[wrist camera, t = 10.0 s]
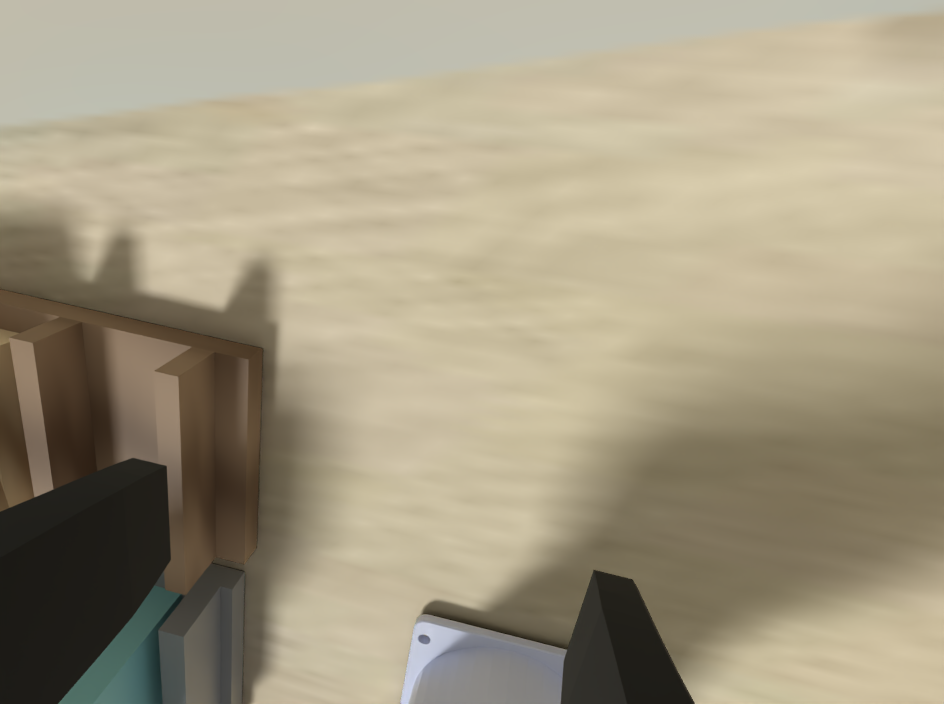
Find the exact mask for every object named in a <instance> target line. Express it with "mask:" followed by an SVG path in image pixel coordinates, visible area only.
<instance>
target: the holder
mask: <svg viewBox="0 0 944 704" xmlns="http://www.w3.org/2000/svg"><path fill="white" fill-rule="evenodd" d="M244 584H245V572H243V571H240V570H236V569H232V568H228V567H224V566H220V565H216V564H212V563H211V564H210V565H209V566H208V568H207V569H206V570H205V571H204V573H203V574H202V575H201V577H200V578H199V579H198V580H197V582H196V583H195V584H194V585H193V587H192V588H191V589H190V590H189V592H188V593H187V594H186V595H183V594H182V601H181V602H180V603H179V605H178V606H177V607H176V608H175V610H174V611H173V612H172V613H171V615H170V616H169V617H168V619H167V620H166V621H165V622H164V624H163V625H162V626H161V627H160V629H159V630H158V635H159V651H160V668H161V684H162V700H163V704H242V683H243V634H244ZM154 586H158V587H162V588H165V577H164V571H163V573H162V574H161V576H160V578H159V579H158V581H157V582H156V584H155V585H154Z"/></svg>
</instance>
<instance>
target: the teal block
mask: <svg viewBox="0 0 944 704" xmlns="http://www.w3.org/2000/svg"><path fill="white" fill-rule="evenodd" d="M181 601H182V594H179V593H175V592H171V591H167V590H165V588H162V587H158V586H154V587H153V588H152V590H151V591H150V593H149V594H148V596H147V597H146V598H145V600H144V601H143V603H142V604H141V606H140V607H139V608H138V610H137V611H136V613H135V614H134V616H133V617H132V618H131V619H130V620H129V622H128V623H127V624H126V625H125V626H124V628H123V629H122V630H121V631H120V632H119V634H118V635H117V636H116V637H115V638H114V639H113V641H112V642H111V643H110V644H109V645H108V647H107V648H106V649H105V650H104V651H103V652H102V654H101V655H100V656H99V657H98V658H97V659H96V661H95V662H94V663H93V664H92V665H91V666H90V668H89V669H88V670H87V671H86V672H85V673H84V675H83V676H82V677H81V678H80V679H79V680H78V681H77V683H76V684H75V685H74V686H73V687H72V688H71V690H70V691H69V692H68V693H67V694H66V695H65V696H64V698H63V699H62V700H61V701H60V702H59V703H58V704H163V700H162V684H161V668H160V651H159V635H158V630H159V629H160V627H161V626H162V625H163V624H164V622H165V621H166V620H167V619H168V617H169V616H170V615H171V613H172V612H173V611H174V610H175V608H176V607H177V606H178V605H179V603H180V602H181Z"/></svg>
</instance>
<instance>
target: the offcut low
mask: <svg viewBox="0 0 944 704" xmlns="http://www.w3.org/2000/svg"><path fill="white" fill-rule="evenodd" d="M16 334H19V333H16V332H12V331H7V330H3V329H0V481H1V484H2V487H3V490H4V493H5V496H6V499H7V502H8V505H9V508H10V507H13V506H15V505H17V504H20V503H22V502H25V501H27V500H29V499H32V498H34V492H33V485H32V479H31V473H30V467H29V460H28V454H27V448H26V441H25V435H24V429H23V422H22V416H21V410H20V403H19V397H18V391H17V385H16V378H15V372H14V366H13V359H12V353H11V347H10V340H9V337H12V336H14V335H16Z"/></svg>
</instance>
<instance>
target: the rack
mask: <svg viewBox="0 0 944 704" xmlns="http://www.w3.org/2000/svg"><path fill="white" fill-rule="evenodd" d="M0 329H3V330H7V331H12V332H16V333H19V334H16V335H14V336H12V337H9V340H10V347H11V353H12V359H13V366H14V372H15V378H16V385H17V391H18V397H19V403H20V410H21V416H22V422H23V429H24V435H25V441H26V448H27V454H28V460H29V467H30V473H31V479H32V485H33V492H34V497H37V496H39V495H41V494H44V493H46V492H49V491H51V490H53V489H56V488H58V487H60V486H63V485H65V484H68V483H70V482H72V481H75V480H77V479H80V478H82V477H84V476H87V475H89V474H92V473H94V472H96V471H99V470H101V469H104V468H106V467H109V466H112V465H114V464H117V463H119V462H122V461H125V460H128V459H131V458H136V459H140V460H145V461H149V462H153V463H157V464H161V465H165V466H167V482H168V504H169V526H170V548H171V561H170V562H169V564H168V565H167V567H166V568H165V570H164V577H165V590H167V591H171V592H175V593H179V594H183V595H186V594H187V593H188V592H189V590H190V589H191V588H192V587H193V585H194V584H195V583H196V582H197V580H198V579H199V578H200V577H201V575H202V574H203V573H204V571H205V570H206V569H207V568H208V566H209V565H210V564H211V563H212V561H213V560H214V559H215V558H216V557H217V558H221V559H225V560H229V561H233V562H237V563H241V564H245V563H246V562H247V560H248V559H249V557H250V556H251V555H252V553H253V552H254V550H255V549H256V548H257V525H258V492H259V459H260V426H261V393H262V360H263V349H262V348H258V347H254V346H249V345H245V344H240V343H236V342H231V341H227V340H223V339H218V338H214V337H209V336H205V335H200V334H196V333H192V332H187V331H183V330H178V329H174V328H169V327H165V326H161V325H156V324H152V323H147V322H143V321H138V320H134V319H129V318H125V317H121V316H116V315H112V314H107V313H103V312H98V311H94V310H90V309H85V308H81V307H76V306H72V305H67V304H63V303H59V302H54V301H50V300H45V299H41V298H36V297H32V296H28V295H23V294H19V293H14V292H10V291H5V290H1V289H0Z"/></svg>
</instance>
